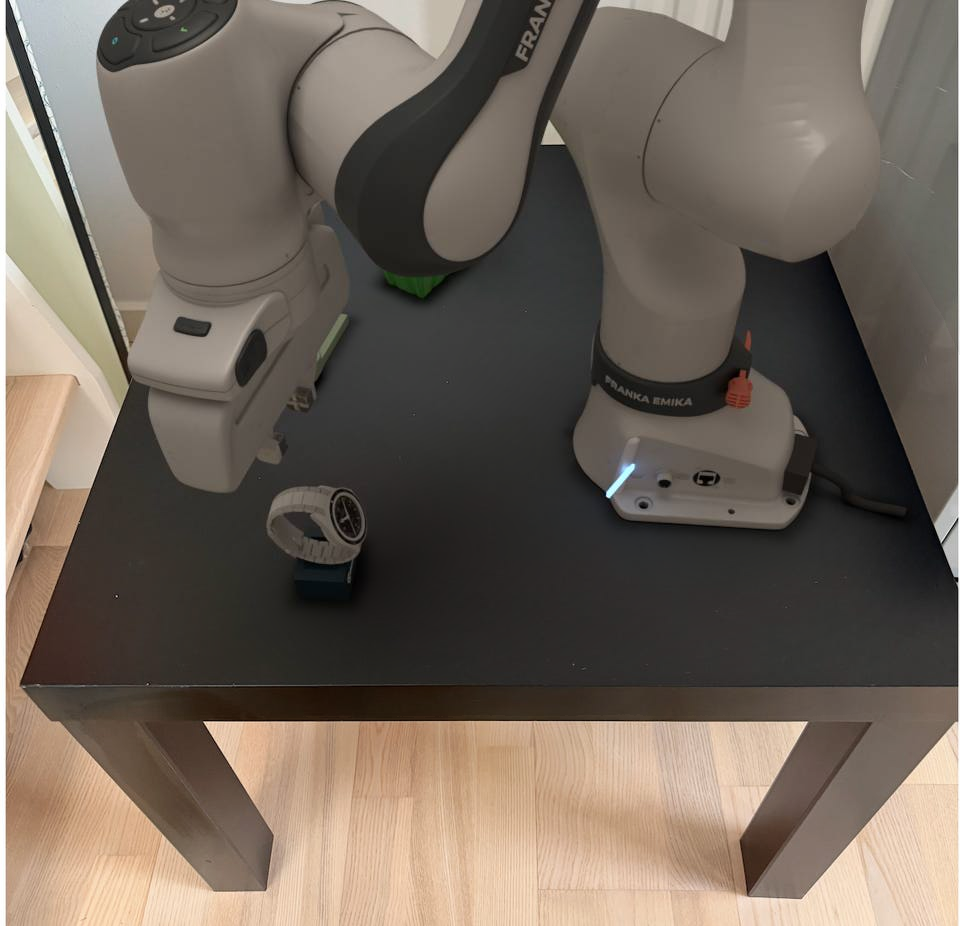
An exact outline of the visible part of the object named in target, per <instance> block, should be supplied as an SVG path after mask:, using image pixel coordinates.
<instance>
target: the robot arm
mask: <svg viewBox="0 0 960 926" xmlns="http://www.w3.org/2000/svg"><path fill="white" fill-rule="evenodd" d="M600 2H601V0H465V1H464V2H463V5H462V8H461V11H460V13H459V16H458V19H457V21H456V23H455V26H454V29H453V31H452V34H451V36H450V38H449V41H448V43H447V45H446V46H445V48H444V50H443V51H442V52H441V53H440V55H439V56H438V57H437V58H435V56H433V55H431V54H430V53H429V52H427V51H426V50H424V49H423V48H422V47H421V46H420V45H419V44H418V43H417V42H415V40H413V39H412V37H410V36H408V35H407V34H406V33H404V32H403V31H402V30H400V29H398V28H397V27H396V26H395V25H393V24H391V23H390V22H389V21H387V20H386V19H384V18H383V17H382V16H380V15H379V14H377V13H376V12H374V11H372V10H370V9H368V8H366V7H365V6H362V5H361V4H358V3H355V2H352V1H349V0H318V1H314V2H311V3H291V2H282V1H278V0H127V1H125V2H124V3H123V4H122V5H121V6H120V7H119V8H118V9H117V10H116V11H115V13H113V15H112V16H111V17H110V18H109V19H108V20H107V22H106V23H105V25H104V27H103V29H102V31H101V34H100V36H99V38H98V41H97V47H96V53H95V54H96V55H95V67H96V78H97V86H98V91H99V97H100V100H101V105H102V109H103V114H104V118H105V120H106V124H107V128H108V131H109V135H110V137H111V142H112V144H113V147H114V150H115V153H116V156H117V159H118V163H119V164H120V168H121V170H122V173H123V177H124V179H125V181H126V184H127V186H128V189H129V191H130V194H131V196H132V198H133V199H134V201H135V203H136V204H137V206H138V207H139V208H140V209H141V211H142V212H143V213H144V214H145V216H146V217H147V219H148V221H149V224H150V227H151V239H152V240H151V243H152V244H151V245H152V249H153V250H152V251H153V254H154V257H155V260H156V263H157V265H158V268H159V270H158V271H157V273H156V275H155V278H154V281H153V285H152V289H151V294H150V298H149V301H148V304H147V307H146V310H145V314H144V316H143V319H142V321H141V324H140V325H139V328H138V330H137V333H136V336H135V337H134V340H133V342H132V344H131V346H130V348H129V351H128V355H127V359H126V360H127V362H126V363H127V368H128V371H129V373H130V375H131V377H132V379H133V380H134V381H135V382H137V383H139V384H142V385H145V386H147V387H149V390H148V396H147V410H148V416H149V421H150V423H151V426H152V429H153V432H154V434H155V435H154V436H155V437H156V439H157V442H158V445H159V447H160V450H161V452H162V454H163V457H164V459H165V460H166V462H167V465H168V467H169V469H170V470H171V472H172V474H173V475H174V478H176V480H177V481H178V482H180V483H182V484H183V485H186V486H188V487H191V488H195V489H197V490H201V491H207V492H211V493H219V494H229V493H233V492H235V491H236V490H237V489H238V488H239V486H240V485H241V483H242V481H243V479H244V478H245V476H246V475H247V473H248V471H249V469H250V467H251V466H252V464H253V462H254V461H255V459H256V458H257V460H259V461H261V462H263V463H267V464H272V465H279V464H280V463H281V461H282V459H283V457H284V456H285V454H286V452H287V450H288V448H289V446H288V443H287V439H286V436H285V433H281V432H277V431H276V432H274V427H275V425H276V424H277V422H278V420H279V419H280V417H281V414H283V412H284V410H285V409H286V407H288V409H290V410H292V411H295V412H297V411H300V412H301V413H309V411H310V409H311V407H312V406H313V405H314V403H315V401H316V399H317V398H318V395H317V391H316V387H315V382H316V381H315V373H316V365H317V357H318V356H317V353H318V351H319V350H320V348H321V346H322V344H323V343H324V341H325V339H326V338H327V336H328V334H329V333H330V331H331V329H332V328H333V326H334V324H335V323H336V321H337V319H338V317H339V316H340V314H342V312H343V311H344V309H345V308H346V307H347V304H348V302H349V298H350V290H351V280H350V276H349V272H348V268H347V264H346V261H345V257H344V254H343V250H342V247H341V244H340V241H339V238H338V236H337V234H336V232H335V231H334V229H333V228H332V227H331V226H329V225H326V221H325V215H324V209H323V207H322V204H321V202H324V201H325V203H326V204H327V205H328V206H330V208H331V209H332V210H333V211H334V212H335V213H336V214H338V217H339V218H340V220H341V222H342V223H343V224H344V225H345V227H346V228H347V230H348V231H349V232H350V234H351V235H352V236H353V238H354V239H355V240H356V242H357V243H358V244H359V246H360V247H361V248H362V250H363V251H364V252H365V254H366V255H367V257H368V258H369V259H370V260H371V261H372V262H373V263H374V264H375V265H376V266H377V267H379V268H380V269H381V268H382V269H384V270H385V271H387V272H389V273H392V274H395V275H399V276H403V277H432V276H439V275H444V274H449V273H450V274H452V273H455V272H459V271H462V270H464V269H467V268H468V267H471V266H473V265H476V264H477V263H479V262H480V261H482V260H484V259H485V258H487V257H488V256H489V255H490V254H492V253H493V252H495V250H497V248H499V247H500V245H502V243H503V242H504V241H505V240H506V239H507V238H508V236H509V235H510V233H511V232H512V231H513V229H514V227H515V225H516V224H517V222H518V220H519V218H520V216H521V214H522V212H523V210H524V207H525V204H526V201H527V199H528V195H529V193H530V189H531V185H532V182H533V179H534V178H533V177H534V173H535V170H536V165H537V161H538V159H539V155H540V151H541V146H542V143H543V139H544V136H545V132H546V130H547V127H548V125H549V123H550V124H551V125H552V127H553V128H554V130H555V131H556V132H557V134H558V135H559V137H560V139H561V140H562V142H563V143H564V145H565V146H566V148H567V150H568V152H569V154H570V156H571V157H572V160H573V162H574V164H575V166H576V169H577V171H578V173H579V176H580V179H581V181H582V184H583V187H584V190H585V193H586V197H587V200H588V202H589V206H590V209H591V213H592V216H593V219H594V224H595V228H596V232H597V235H598V239H599V240H598V241H599V245H600V250H601V256H602V257H601V258H602V266H603V267H602V268H603V272H602V273H603V274H602V298H601V312H600V313H601V314H600V318H599V321H598V323H597V326H596V329H595V332H594V334H593V338H592V345H591V352H590V365H589V367H590V368H589V371H590V383H591V387H590V391H589V395H588V398H587V401H586V404H585V407H584V408H583V411H582V413H581V416H580V417H579V419H578V421H577V422H576V425H575V427H574V431H573V434H572V435H573V436H572V447H573V453H574V455H575V458H576V461H577V463H578V465H579V466H580V468H581V469H582V471H583V472H584V474H585V475H586V476H587V477H588V478H589V479H590V480H591V481H592V482H594V483H595V484H596V485H597V486H598V487H599V488H600V489H601V490H602V491H604V492H605V494H606V495H605V497H607V498H608V499H609V502H610V503H611V505H612V507H613V509H614V511H615V513H616V514H617V515H618V516H619V517H621V518H622V519H624V520H627V521H633V522H647V523H648V522H649V523H663V524H665V523H666V524H677V525H679V524H680V525H696V526H711V527H712V526H713V527H724V528H725V527H727V528H728V527H729V528H742V529H743V528H745V529H759V530H775V531H776V530H783V529H786V528H787V527H789V525H791V523H792V522H794V520H795V519H796V518H797V517H798V516H799V514H800V512H801V511H802V509H803V507H804V504H805V502H806V500H807V496H808V493H809V488H810V485H811V484H810V483H811V478H812V475H815V476H817V477H819V478H821V479H824V480H826V481H828V482H830V483H832V484H833V485H835V486H837V487H838V488H839V491H840V495H841V497H842V498H843V500H845V501H846V502H847V503H849V504H850V505H852V506H854V507H856V508H859V509H861V510H864V511H868V512H873V513H879V514H885V515H890V516H895V517H899V518H904V517H905V516H906V512H907V507H905V506H901V505H898V504H897V505H896V504H891V503H886V502H879V501H875V500H870V499H867V498H863V497H861V496H859V495H857V494H855V493H853V490H852V486H851V484H850V482H849V481H848V480H847V479H846V478H845V477H843V476H842V475H840V474H839V473H837V472H836V471H833V470H831V469H829V468H826V467H824V466H822V465H820V464H818V463H815V462H814V460H815V456H816V451H817V448H818V444H819V441H820V440H819V439H818V438H814V437H810V436H809V434H808V432H807V430H806V428H805V426H804V424H803V423H802V421H801V420H800V418H798V416H796V415H794V412H793V407H792V404H791V401H790V398H789V396H788V395H787V393H786V392H785V391H784V389H783V388H782V387H780V386H779V385H778V384H776V383H775V382H773V381H771V380H770V379H769V378H768V377H765V376H764V374H761V373H760V372H758V371H757V370H756V369H755V368H753V367H752V364H753V363H752V361H753V355H752V352H751V346H752V337H751V331H750V330H747V332H746V335H745V336H746V337H745V339H744V344H743V342H742V341H741V340H740V339H738V337H737V336H736V335H735V330H736V325H737V320H738V316H739V313H740V308H741V304H742V300H743V297H744V292H745V288H746V283H747V282H746V281H747V272H746V264H745V260H744V255H743V252H742V250H741V249H744V250H747V251H750V252H753V253H757V254H759V255H762V256H766V257H769V258H772V259H776V260H779V261H783V262H787V263H799V262H802V261H806V260H809V259H811V258H814V257H816V256H818V255H820V254H822V253H824V252H826V251H828V250H830V249H831V248H833V247H834V246H836V245H837V244H838V243H840V242H841V241H842V240H844V239H845V238H846V237H847V236H848V235H849V234H850V233H851V232H852V231H853V230H854V229H855V228H856V227H857V225H858V224H859V223H860V221H861V220H862V219H863V218H864V216H865V214H866V213H867V211H868V209H869V207H870V206H871V204H872V202H873V199H874V197H875V195H876V193H877V189H878V187H879V182H880V177H881V173H882V171H881V170H882V161H883V159H882V158H883V154H882V153H883V151H882V143H881V138H880V133H879V130H878V128H877V125H876V123H875V121H874V119H873V116H872V113H871V111H870V109H869V105H868V102H867V101H868V100H867V97H866V93H865V87H864V82H863V74H862V37H863V36H862V35H863V25H864V19H865V13H866V10H867V9H866V8H867V4H868V0H732V9H731V17H730V21H729V26H728V30H727V33H726V37H725V40H724V41H723V40H721V39H719V38H717V37H714V36H712V35H710V34H708V33H706V32H704V31H701V30H699V29H697V28H695V27H694V26H693V27H692V26H690V25H688V24H686V23H684V22H682V21H679V20H677V19H675V18H673V17H671V16H668V15H666V14H664V13H659V12H654V11H653V12H651V11H647V10H642V9H635V8H627V7H620V6H610V5H609V6H601V7H599V5H600ZM450 274H449V275H450ZM314 381H315V382H314ZM789 503H790V504H789ZM641 507H644V508H641Z"/></svg>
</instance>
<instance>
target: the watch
mask: <svg viewBox="0 0 960 926" xmlns="http://www.w3.org/2000/svg"><path fill="white" fill-rule="evenodd" d="M293 512H294V513H295V512H297V513H298V512H299V513H301V512H302V513H303V512H305V513H310V519H311V520H312V521H313V522H314V523H316V525H318V526H315V525H314V526H313V525H305V529H304V532H303V531H302V530H301V529H299V528H298V527H296V526H295V525H294V524H293V523H291V522H290V521H289V520H288V518H287V517H286V516H285V515H284V514H287V513H293ZM367 519H368V517H367V514H366V511H365V508H364V505H363V504H362V502H361V500H360V498H359V497H358V496H357V495H356V494H355V492H353V489H351V488H347V487H337V488H336V487H332V486H327V485H323V484H322V485H319V486H295V487H290V488H287V489H285V490H283V491H281V492H279V493H278V494H277V495H276V496H275V497H274V499H273V500H272V503H271V506H270V509H269V512H268V516H267V520H266V525H265V526H266V530H267V535H268V538H270V539H271V540H272V542H273V543H274V544H275V545H277V547H279V548H280V549H281V550H282V551H284V552H285V553H286V554H288V555H290V556H291V557H292V558H294V559H296V558H297V560H296V561H297V562H296V565H295V570H294V574H293V578H292V581H293V583H294V587H295V590H296V593H297V595H298V598H299V599H301V600H315V601H316V600H317V601H332V602H350V598H351V593H352V588H353V584H354V577H355V573H356V567H357V563H358V558H359V554H360V552H361V548H362V544H363V542H364V540H365V538H366V535H367V532H368V520H367Z"/></svg>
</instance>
